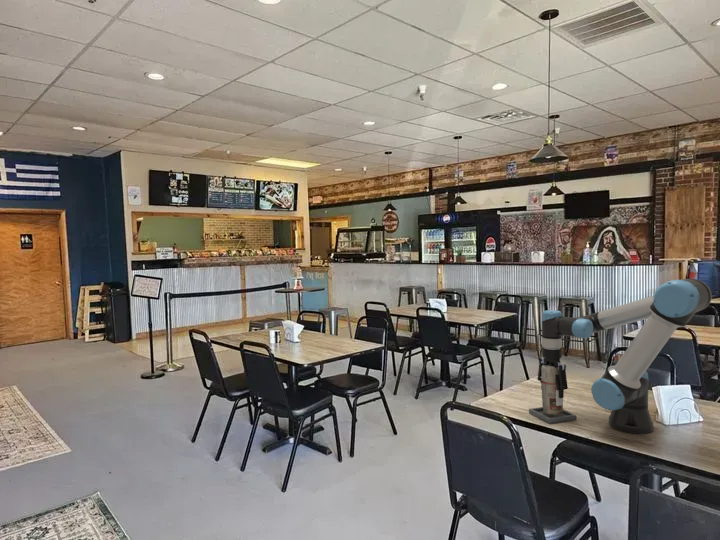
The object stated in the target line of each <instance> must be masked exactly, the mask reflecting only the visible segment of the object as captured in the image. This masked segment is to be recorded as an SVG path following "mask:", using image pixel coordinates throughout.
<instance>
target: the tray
mask: <svg viewBox="0 0 720 540" xmlns="http://www.w3.org/2000/svg"><path fill="white" fill-rule="evenodd" d="M528 414H529V415H532V416H533V417H535V418H537V419H539V420H540V421H543V422H545V423H546V424H548V425H555V424H559V423H560V424H561V423H566V422H573V421H577V414H574V413H572V412H570V411H567V410H565V409H564V408H563V413H562V414H555V415H552V414H547V413H545V412H543V406H540V407H532V408H529V409H528Z"/></svg>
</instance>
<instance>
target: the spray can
mask: <svg viewBox="0 0 720 540" xmlns="http://www.w3.org/2000/svg"><path fill="white" fill-rule="evenodd" d="M541 370H542V372H541V374H542V377H540V378H541V382H542V390H541V400H542V407H543V412H545V413H547V414H552V415H555V414H562V413H563V409H564V404H563V405H561V406H556V389H557V385H556V381H555V374H557V375H559V369H558V367H557V368H555V367H553V366H549V365H542V369H541ZM541 382H540V383H541Z"/></svg>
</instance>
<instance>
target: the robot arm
mask: <svg viewBox="0 0 720 540" xmlns="http://www.w3.org/2000/svg"><path fill="white" fill-rule="evenodd" d="M712 296H713V293H712V290H711V289H710V287H709V285H708V284H707V283H705V282H704V281H703V280H700V279H696V278H683V279H672V280H669V281H666V282H665V283H663V284H661V285H660V286H659V287H657V288H656V290H655V292H654V294H653V295H651V296H647V297H644V298H641V299H638V300H635V301H630V302H628V303H624V304H620V305H618V306H614V307H611V308H608V309H603V310H601V311H597V312H594V313H592V314H591V313H590V314H588V315H587V314H586V315H582V316H576V317H570V316H569V317H568V316H563V314H562V312H561V311H560V310H557V309H556V310H555V309H549V310H548V309H547V310H543V311H542V315H541V328H542V329H541V331H542V333H541V346H542V348H541V356H542V357H540V358H538V372H537V381H539V382H540V385H541V386H540V387H541V388H540V389H541V391H542V382H541V377H542V374H541V372H542V370H541V369H542V365H549V366H553V367H555V368H557V367H558V369H559V375H557V374H555V381H556V385H557V389H556V406H561V405H563V406H564V395H565V394H564V391H566V390H568V386H569V385H568V380H567V372H566V369H567V365H566V364H562V363H561V358H562V357H563V351H562V350H563V349H562V343H563V342H562V341H563V339H562V336H566V337H572V338H577V339H589V338H590V337H591V336H593V334H594V333H600V332H603V331H606V330H609V329H614V328H617V327H621V326H624V325H628V324H629V325H630V324H632V323H637V322H640V321H645V320H646V321H645V323H643V325H642V326H641V328H640V329H639V331H638V332H637V334H636V335H635V337H634V338H633V339H632V341H631V342H630V344H629V345H628V347H627V348H626V350H625V351H624V353H623V354H622V356H621V357H620V359H619V360H618V361H617V363H616V364H615V365H610V366H608V367H607V369H606V371H605V372H604V373H603V374H602V376H601V378H598V379H596V380H595V381H593V383H592V384H591V388H590V389H591V391H590V393H591V395H592V398H593V400H594V402H595V403H596V404H597V405H598V406H599V407H601V408H602V409H604V410H607V411H610V415H608V425H609V426H610V427H611V428H613V429H615V430H618V431H621V432H625V433H630V434H637V435H638V434H641V435H642V434H644V435H645V434H651V433H652V432H653V431H654V422H653V420H652V418H651V414H650V411H649V380H650V379H649V373H648V371H647V370H648V369H649V367H650V366H651V364H652V363H653V362H654V360H655V359H656V357H658V354H660V352H661V351H662V349H663V348H664V346H665V345H666V343H668V341H669V340H670V338H671V337H672V335H674V333H675V332H676V330H677V329H678V328H684V327H686V326H687V324H688V323H689V322H690V321H691V319H692V317H693V316H694V315H695V314H696V313H698V312H701V311H703V310H705V309H707V308H708V306H709V305H710V304H711V301H712Z"/></svg>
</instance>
